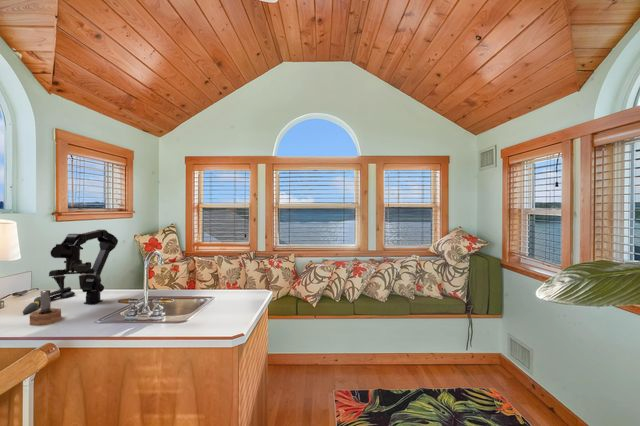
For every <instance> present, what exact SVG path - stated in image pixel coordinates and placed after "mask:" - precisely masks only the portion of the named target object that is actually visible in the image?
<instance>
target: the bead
mask: <svg viewBox="0 0 640 426" xmlns="http://www.w3.org/2000/svg"><path fill="white" fill-rule="evenodd" d="M61 319H62V308H58V307H57V308H55V307H51V313H48V314H41V309H40V310H36V311H32V312H30V315H29V325H30V326H42V325H43V326H44V325H49V324H53V323H56V322H58V321H61Z"/></svg>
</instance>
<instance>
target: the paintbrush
mask: <svg viewBox="0 0 640 426" xmlns="http://www.w3.org/2000/svg"><path fill="white" fill-rule="evenodd" d="M38 307H41V296H37V297H36V298H34V300H33V302H30V303H29V304H28V305H26V306H25V308H24V309H23V310H22V314H24V315H25V314H29V313H33V312H34V311H35V310H36V309H37V308H38Z"/></svg>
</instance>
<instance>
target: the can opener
mask: <svg viewBox="0 0 640 426" xmlns="http://www.w3.org/2000/svg"><path fill="white" fill-rule="evenodd" d="M75 294H76V292H74V291H72V288H71V287H70V286H68V287H64V290H63V291H61V289H60V288H59V289H57V290H54V291H50V302H52V301H53V300H56V299H58V298H63V299H69V298H72V297H73V296H75Z"/></svg>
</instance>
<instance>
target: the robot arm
mask: <svg viewBox="0 0 640 426" xmlns="http://www.w3.org/2000/svg"><path fill="white" fill-rule="evenodd" d="M94 239H97V241H98V242H99V244H98V245H99V252H98V254H97V256H96V258H95V261H94V263H93V265H92V262H90V261H87V262H83V260H82V259H81V251H82V250H84V248H83V245H84V244H86V243H87V242H88V241H91V240H94ZM118 242H119V240H118V238H117V237H116V236H115V235H114V234H112V233H110V232H109V231H107V230H106V229H96V230H92V231H88V232H83V233H68V234H66V237H65V238H63V240H62V241H61V242H60V243H56V244H55V246H53V247H52V248H51V250H50V256H51V257H52V258H54V259H65V260H64V261H63V264H65V268H64V269H53V270H50V271H49V272H48V277H51V279H54V281H55V282H56V284H57V285H58V287H59V289H61V291H63V290H64V288H65V279H66V277H67V275H78V281H79V288H80V290H81V291H82V293H86V294H85V301H84V302H83V304H84V305H95V304H98V303H101V302H103V301H104V299H101V293H102V292H103V291H104V290H105V286H104V285H103V284H102V277H101V274H102V272H103V269H104V266H105V265H106V262H107V261H108V257H109V256H110V252H112V251H113V250H114V249H115V248H116V247H117V245H118Z"/></svg>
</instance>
